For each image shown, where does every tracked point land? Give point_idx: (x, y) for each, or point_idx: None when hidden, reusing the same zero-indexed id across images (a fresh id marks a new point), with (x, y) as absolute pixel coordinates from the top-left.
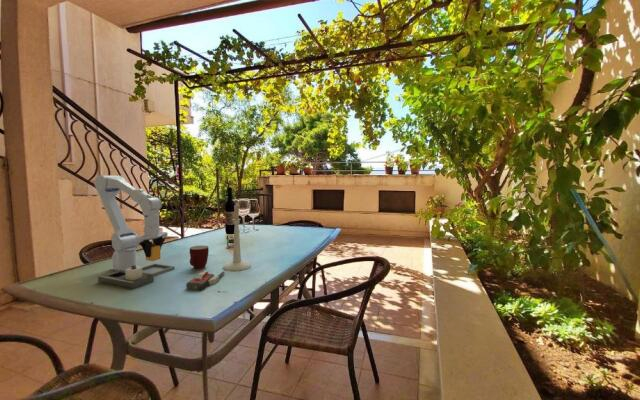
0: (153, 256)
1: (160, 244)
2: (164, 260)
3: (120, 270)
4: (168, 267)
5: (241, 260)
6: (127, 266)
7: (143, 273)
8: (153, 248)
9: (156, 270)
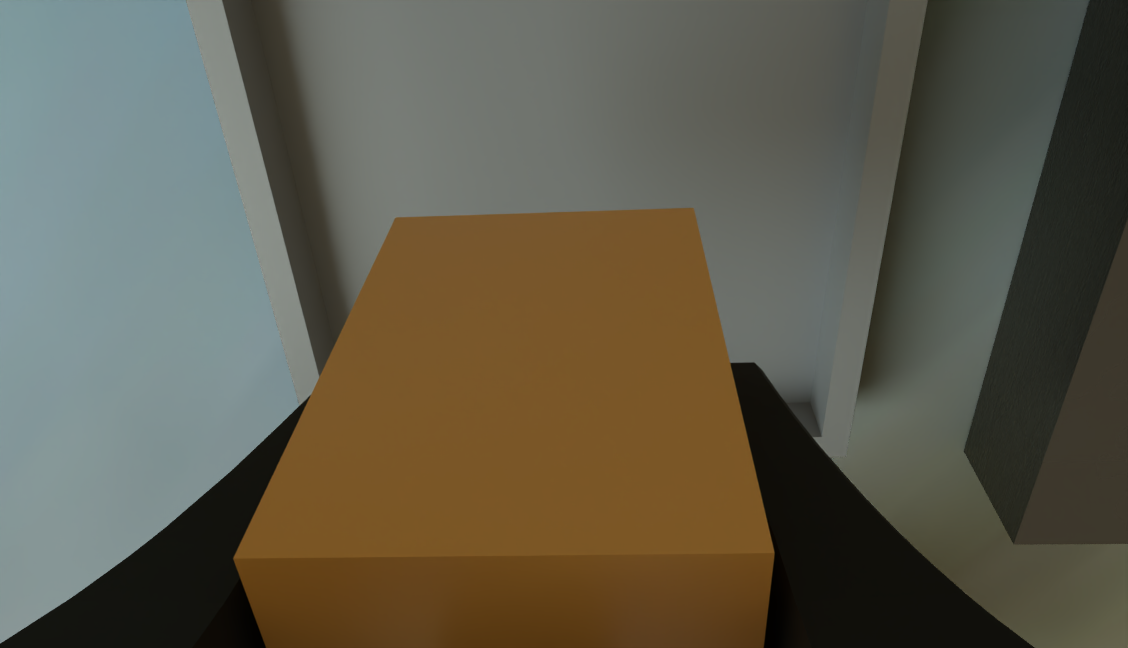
0: (666, 283)
1: (158, 639)
2: (31, 569)
3: (1041, 524)
4: (255, 61)
5: None
6: None
7: (899, 129)
8: (684, 508)
9: (501, 177)
